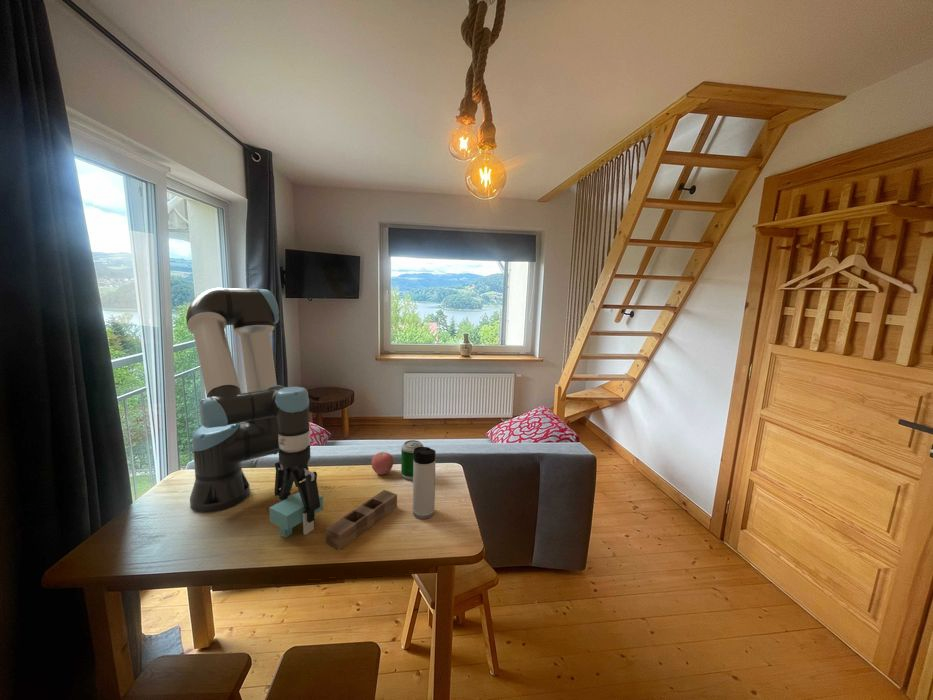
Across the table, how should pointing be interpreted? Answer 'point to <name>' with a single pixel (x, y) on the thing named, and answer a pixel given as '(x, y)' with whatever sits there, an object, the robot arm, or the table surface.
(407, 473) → the soda can
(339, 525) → the rail
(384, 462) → the apple
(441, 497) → the table surface
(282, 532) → the teal footed block
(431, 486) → the travel mug
